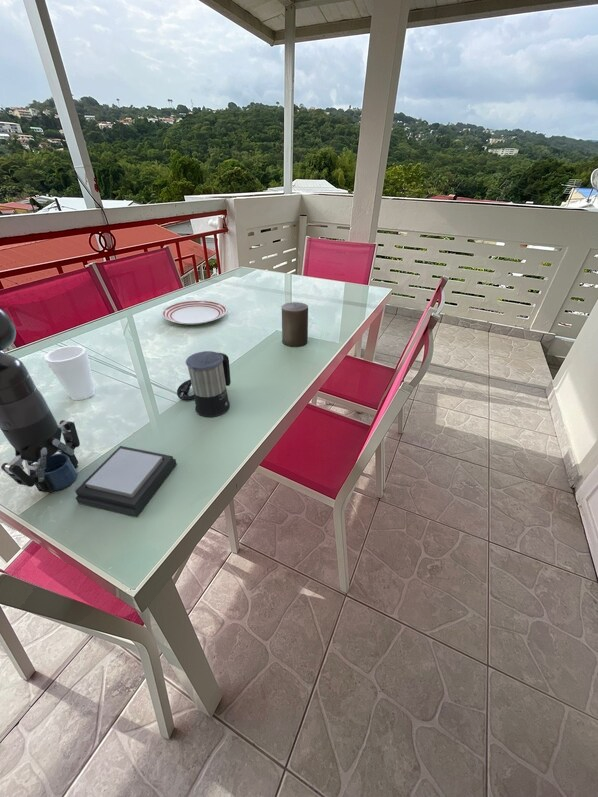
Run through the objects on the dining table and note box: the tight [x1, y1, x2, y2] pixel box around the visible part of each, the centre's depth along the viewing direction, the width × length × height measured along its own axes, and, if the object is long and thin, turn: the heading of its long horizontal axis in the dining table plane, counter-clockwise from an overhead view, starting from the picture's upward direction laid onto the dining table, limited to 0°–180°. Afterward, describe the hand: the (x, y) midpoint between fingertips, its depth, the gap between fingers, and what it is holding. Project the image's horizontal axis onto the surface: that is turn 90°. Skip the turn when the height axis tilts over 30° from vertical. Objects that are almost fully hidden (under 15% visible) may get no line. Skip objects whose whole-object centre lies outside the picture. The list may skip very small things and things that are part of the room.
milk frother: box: [176, 350, 232, 418], centre depth 88 cm, size 14×16×15 cm
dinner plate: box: [161, 299, 228, 326], centre depth 144 cm, size 27×27×3 cm
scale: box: [74, 445, 178, 518], centre depth 67 cm, size 14×13×3 cm
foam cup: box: [43, 345, 96, 401], centre depth 91 cm, size 10×9×13 cm
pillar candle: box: [280, 301, 309, 348], centre depth 121 cm, size 10×10×15 cm
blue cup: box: [44, 452, 78, 491], centre depth 67 cm, size 6×6×5 cm
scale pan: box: [86, 449, 163, 498], centre depth 66 cm, size 10×10×1 cm
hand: (61, 478), depth 68 cm, fingers closed on blue cup, 5 cm apart
